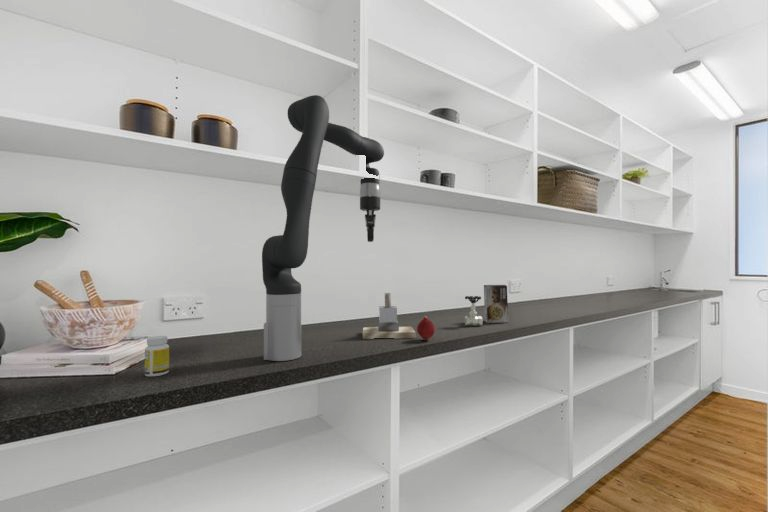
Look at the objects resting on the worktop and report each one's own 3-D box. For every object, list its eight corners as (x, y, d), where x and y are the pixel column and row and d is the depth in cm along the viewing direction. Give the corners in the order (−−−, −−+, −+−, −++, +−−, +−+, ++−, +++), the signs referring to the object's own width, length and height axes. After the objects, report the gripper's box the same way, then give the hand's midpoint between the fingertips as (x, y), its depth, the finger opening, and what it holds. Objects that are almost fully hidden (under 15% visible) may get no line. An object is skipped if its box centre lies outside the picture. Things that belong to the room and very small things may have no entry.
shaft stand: (362, 339, 120) (362, 294, 120) (363, 332, 132) (362, 292, 132) (415, 338, 121) (414, 294, 121) (411, 331, 133) (410, 291, 133)
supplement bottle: (173, 370, 84) (173, 335, 85) (161, 376, 80) (161, 339, 80) (152, 371, 84) (153, 335, 85) (139, 377, 79) (140, 339, 80)
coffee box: (505, 320, 158) (504, 284, 159) (508, 322, 152) (507, 285, 152) (484, 320, 159) (483, 284, 160) (486, 322, 153) (486, 285, 153)
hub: (379, 322, 123) (379, 308, 124) (379, 320, 129) (379, 306, 129) (397, 322, 124) (396, 307, 124) (395, 319, 130) (395, 306, 130)
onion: (438, 339, 118) (437, 315, 118) (430, 342, 113) (429, 317, 113) (422, 337, 121) (422, 314, 121) (414, 340, 116) (413, 316, 116)
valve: (483, 327, 142) (483, 297, 142) (467, 327, 142) (466, 297, 142) (479, 324, 148) (479, 295, 149) (463, 324, 148) (463, 296, 149)
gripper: (360, 200, 138) (360, 242, 137) (359, 193, 124) (359, 239, 123) (379, 200, 138) (380, 242, 138) (380, 192, 124) (381, 239, 123)
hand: (370, 240), depth 130 cm, fingers open, 8 cm apart
